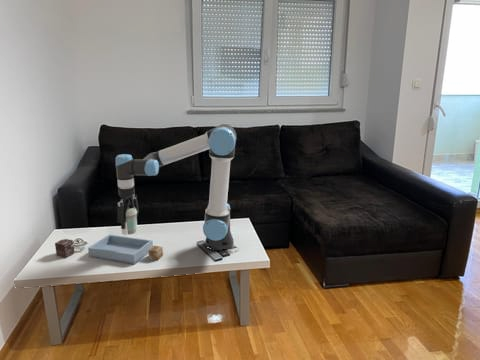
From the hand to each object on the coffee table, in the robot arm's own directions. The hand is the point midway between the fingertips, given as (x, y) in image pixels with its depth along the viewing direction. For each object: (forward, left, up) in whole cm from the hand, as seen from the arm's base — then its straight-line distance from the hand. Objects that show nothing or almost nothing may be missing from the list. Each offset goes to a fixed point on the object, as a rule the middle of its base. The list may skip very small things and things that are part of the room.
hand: (129, 231), depth 187 cm
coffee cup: (0, 0, -1) cm, 1 cm away
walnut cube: (-13, -1, -13) cm, 18 cm away
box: (+32, +10, -13) cm, 36 cm away
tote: (+6, 0, -13) cm, 14 cm away
